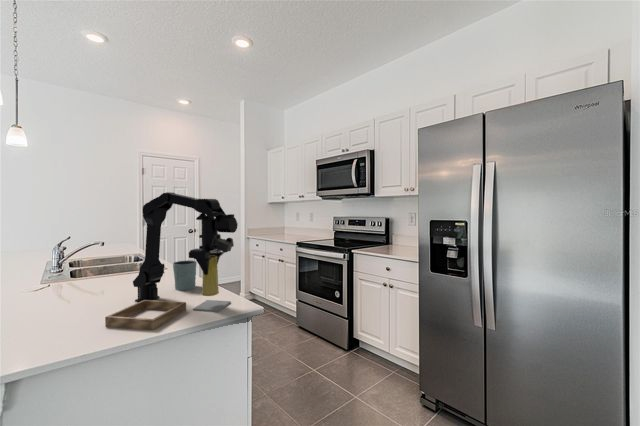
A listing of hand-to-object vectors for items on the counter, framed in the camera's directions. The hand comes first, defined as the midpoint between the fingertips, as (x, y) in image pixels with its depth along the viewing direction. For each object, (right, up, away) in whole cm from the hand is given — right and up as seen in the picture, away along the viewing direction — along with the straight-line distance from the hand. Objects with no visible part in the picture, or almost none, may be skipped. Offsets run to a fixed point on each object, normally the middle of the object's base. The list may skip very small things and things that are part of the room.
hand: (210, 272), depth 113 cm
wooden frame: (-17, -13, -10) cm, 24 cm away
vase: (0, -8, 0) cm, 8 cm away
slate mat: (+1, -13, +1) cm, 13 cm away
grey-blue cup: (-21, -12, +25) cm, 35 cm away
